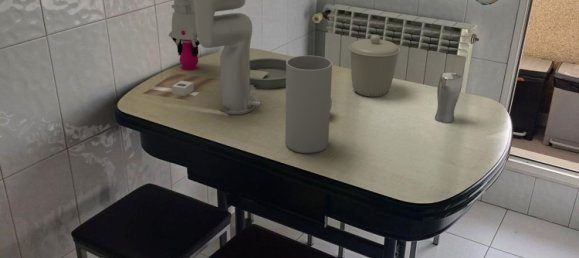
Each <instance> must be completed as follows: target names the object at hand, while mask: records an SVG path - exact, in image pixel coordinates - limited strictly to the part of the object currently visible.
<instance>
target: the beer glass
mask: <svg viewBox="0 0 579 258" xmlns="http://www.w3.org/2000/svg"><path fill="white" fill-rule="evenodd" d="M462 77H463V76H462V75H461V74H459V73H456V72H452V71H451V72H450V71H448V72H441V73H440V74H439V79H438V82H437V83H438V84H437V92H436V93H437V94H436V95H437V96H436V97H437V98H436V99H437V109H436V113H435V116H434V119H435V121H436V122H439V123H443V124H451V123H453V122H454V121H455V109H456V106H457V103H458V100H459V99H460V94H461V88H462V80H463V78H462Z"/></svg>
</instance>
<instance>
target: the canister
mask: <svg viewBox="0 0 579 258" xmlns="http://www.w3.org/2000/svg"><path fill="white" fill-rule="evenodd" d="M348 49H349V50H348V51H350V53H349V54H350V55H349V56H350V73H351V74H350V75H351V76H350V77H351V85H352V89H353V91H354V92H356V93H357V94H358V95H359V94H360V95H361V96H366V97H382V96H385V95H386V94H388V92H389V91H390V89H391V88H392V83H393V80H394V75H395V72H396V71H395V70H396V67H397V62H398V56H399V54H400V53H401V51H402V50H401V48H400V47H399V45H397V44H396V43H394V42H392V41H389V40H386V39H381V36H380V35H379V34H372V35H371V36H370V38H364V39H359V40H356V41H354V42H352V43H350V44H349V45H348Z"/></svg>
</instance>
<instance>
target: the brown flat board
mask: <svg viewBox="0 0 579 258" xmlns="http://www.w3.org/2000/svg"><path fill="white" fill-rule="evenodd" d="M216 80H218V78H213V77H205V76H197V75H191V74H181V73H172V74H171V75H169V76H168V77H166V78H164V79H163V80H162V81H159V82H158V83H156V84H155V85H154V86H152V87H151V88H149V89H147V90H146V91H144V92H142V94H144V95H149V96H156V97H162V98H163V97H164V98H171V99H177V100H184V101H190V100H192V99H193V98H195V97H197V95H198V94H199V93H201V92H203V90H205V89H206V88H207V87H208V86H210V85H211V84H213V83H214V82H216ZM180 81H187V82H193V83H194V91H193V92H191V93H190V94H188V95H186V96H180V95H174V94H173V93H172V86H173V85H175V84H176V83H178V82H180Z"/></svg>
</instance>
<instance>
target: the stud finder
mask: <svg viewBox="0 0 579 258" xmlns="http://www.w3.org/2000/svg"><path fill="white" fill-rule="evenodd" d="M193 91H194V83H193V82H187V81H180V82H178V83H176V84H175V85H173V86H172V93H173V94H174V95H180V96H186V95H188V94H190V93H191V92H193Z"/></svg>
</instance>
